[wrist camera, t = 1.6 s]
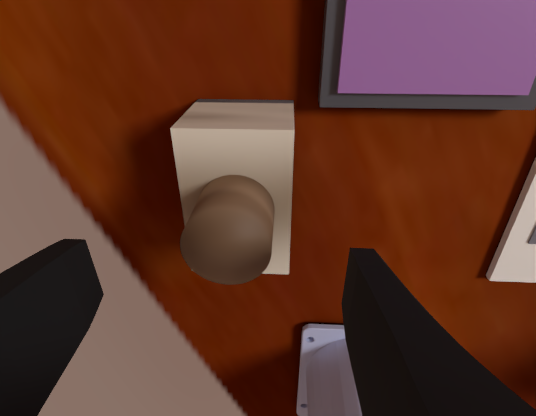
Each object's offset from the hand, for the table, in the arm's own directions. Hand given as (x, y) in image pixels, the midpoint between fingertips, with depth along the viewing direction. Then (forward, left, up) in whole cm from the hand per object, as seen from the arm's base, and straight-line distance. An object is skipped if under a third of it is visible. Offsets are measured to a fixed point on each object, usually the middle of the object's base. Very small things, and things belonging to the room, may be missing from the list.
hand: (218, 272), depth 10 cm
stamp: (0, 0, -8) cm, 8 cm away
